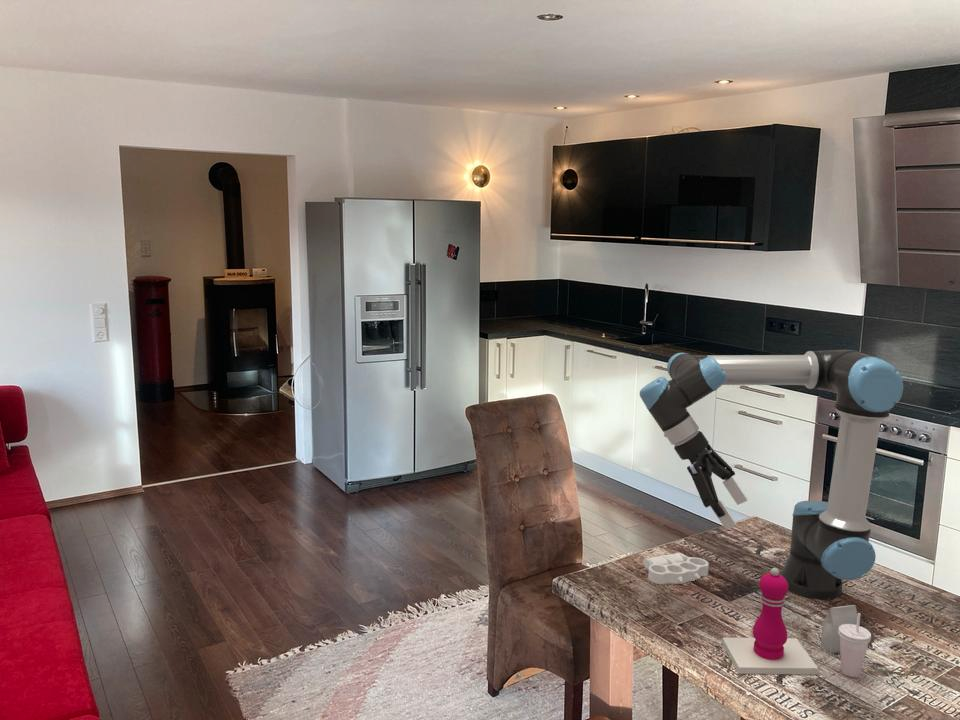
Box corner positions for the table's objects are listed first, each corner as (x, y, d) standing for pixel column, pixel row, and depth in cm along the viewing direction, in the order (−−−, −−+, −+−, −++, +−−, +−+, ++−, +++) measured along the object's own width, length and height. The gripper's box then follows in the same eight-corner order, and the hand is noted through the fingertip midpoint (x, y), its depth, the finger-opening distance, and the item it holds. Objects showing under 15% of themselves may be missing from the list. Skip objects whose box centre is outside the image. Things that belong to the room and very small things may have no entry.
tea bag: (857, 649, 177) (861, 609, 175) (831, 653, 176) (835, 612, 174) (845, 641, 181) (849, 601, 179) (820, 644, 179) (824, 604, 177)
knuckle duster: (686, 558, 224) (718, 580, 211) (632, 568, 218) (662, 591, 205) (686, 547, 224) (719, 569, 210) (632, 557, 217) (663, 579, 204)
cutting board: (795, 644, 179) (796, 638, 179) (817, 674, 167) (818, 668, 167) (721, 643, 179) (722, 637, 179) (738, 673, 167) (739, 667, 167)
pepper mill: (788, 663, 169) (795, 577, 165) (753, 659, 170) (760, 573, 167) (782, 645, 176) (789, 562, 172) (749, 641, 177) (755, 559, 174)
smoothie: (853, 684, 164) (860, 622, 161) (827, 668, 170) (833, 609, 167) (873, 676, 167) (880, 615, 164) (847, 661, 173) (853, 602, 170)
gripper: (686, 427, 197) (734, 498, 195) (658, 464, 176) (711, 544, 174) (711, 414, 192) (760, 486, 191) (686, 450, 171) (740, 531, 170)
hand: (737, 514), depth 183 cm, fingers open, 13 cm apart
